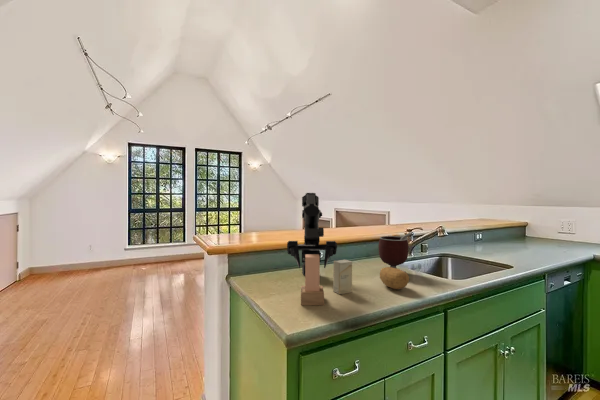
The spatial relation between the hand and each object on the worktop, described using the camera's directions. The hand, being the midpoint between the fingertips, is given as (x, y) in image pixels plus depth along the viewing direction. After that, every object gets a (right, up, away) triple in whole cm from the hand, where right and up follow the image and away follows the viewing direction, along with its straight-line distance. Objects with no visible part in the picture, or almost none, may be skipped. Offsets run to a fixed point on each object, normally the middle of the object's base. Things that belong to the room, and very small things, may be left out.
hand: (312, 267), depth 103 cm
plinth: (0, -12, -1) cm, 12 cm away
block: (0, -8, -1) cm, 8 cm away
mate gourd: (+42, -11, +35) cm, 56 cm away
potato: (+34, -12, +14) cm, 38 cm away
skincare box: (+12, -12, +9) cm, 19 cm away
